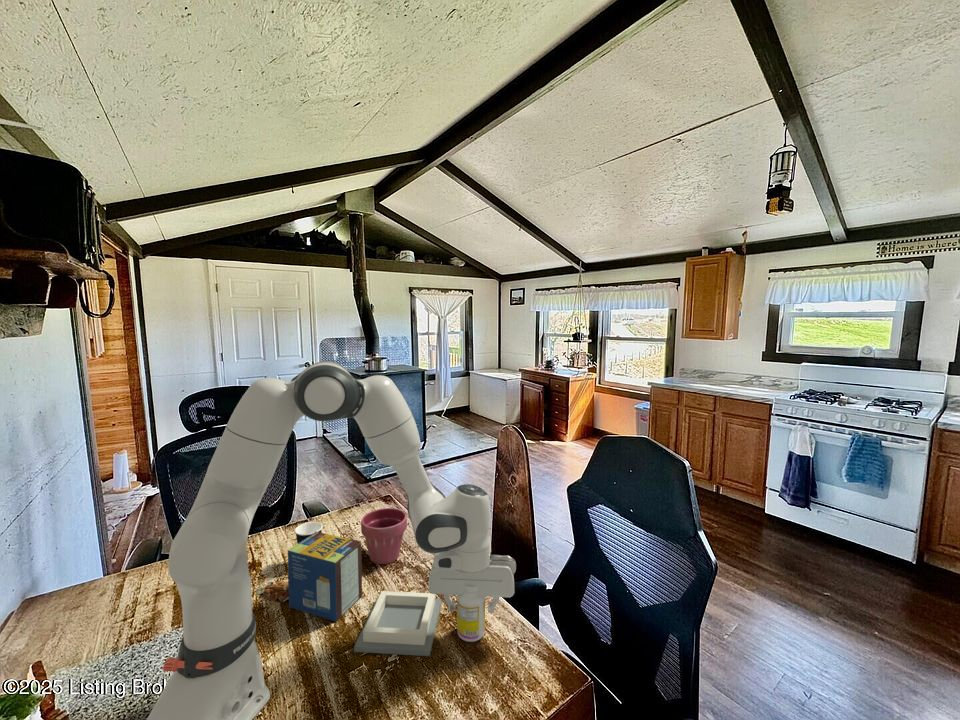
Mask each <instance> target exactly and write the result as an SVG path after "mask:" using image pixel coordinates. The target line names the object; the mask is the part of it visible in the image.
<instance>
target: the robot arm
mask: <svg viewBox="0 0 960 720" xmlns="http://www.w3.org/2000/svg"><path fill="white" fill-rule="evenodd" d="M402 394H403V393H401V392H400V389H399V388H398V387H397V385H396V384H395V383H394V381H393V380H392V379H391V378H390V377H388V376H386V375H382V374H381V375H380V374H379V375H378V374H377V375H372V376H368V377H366V378H364V379H357V378H355V377H353V375H351V373H350V372H349V370H348V369H346V367H345V366H343V365H342V364H340V363H337V362H335V361H332V360H331V361H329V360H323V361H318V362H315V363H312V364H310V365H309V366H307V367H306V368H305V369H303V370H302V371H301V372H300V373H299V374H297V375H296V376H294V377H293V378H292V379H291V380H289V381H288V380H284V379H281V378H276V377H275V378H274V377H265V378H259V379H257V380H255V381H254V382H252V383H251V384H250V386H249V387H248V389H246V391H245V393H244V394H243V395H242V396H241V398H240V400H239V402H237V404H236V406H235V408H234V410H233V412H232V413H231V415H230V417H229V420H227V421H228V422H227V424H226V426H225V428H224V431H223V433H222V436H221V437H220V440H219V442H218V444H217V446H216V449H215V451H214V453H213V455H212V458H211V459H210V462H209V464H208V466H207V471H206V473H205V476H204V477H203V480H202V483H201V486H200V489H199V490H198V493H197V495H196V498H195V500H194V503H193V505H192V506H191V509H190V511H189V512H188V515H187V516H186V518H185V519H184V522H183V523H182V525H181V526H180V528H179V530H178V532H177V534H175V537H174V538H173V541H172V543H171V545H170V550H169V554H168V555H169V556H168V573H169V576H170V578H171V580H173V582H175V584H176V587H177V590H178V593H179V597H180V601H181V611H182V612H181V613H182V616H181V617H182V629H183V630H182V632H183V635H182V638H181V642H180V645H179V649H178V654H177V657H174V656H173V657H172V656H170V657H168V658H167V659H166V660H164V664H163V665H162V671H163V672H172V674H171V676H170V677H169V679H168V681H167V683H166V684H165V686H164V688H163V689H162V692H161V694H160V696H159V697H158V699H157V701H156V703H155V704H154V706H153V708H152V710H151V711H150V713H149V715H148V716H147V718H146V720H254V718H255V716H256V715H257V714H258V713H259V712H260V711H261V710H262V708H263V707H264V706H266V704H267V703H268V702H269V700H270V698H271V693H270V689H269V688H268V686H267V685H266V684H265V678H264V677H265V676H264V672H263V670H264V669H263V664H262V663H263V662H262V657H261V654H260V652H259V649H258V647H257V644H256V640H255V638H256V634H257V631H256V629H257V622H256V616H255V614H254V612H253V597H252V596H253V594H252V591H253V589H252V578H251V576H250V571H249V564H248V555H247V552H248V551H247V547H248V546H247V545H248V537H249V532H250V529H251V525H252V522H253V519H254V517H255V513H256V511H257V509H258V507H259V505H260V502H261V500H262V498H263V497H264V494H265V493H266V491H267V489H268V487H269V484H270V483H271V482H272V480H273V477H274V475H275V472H276V469H277V467H278V464H279V462H280V460H281V457H282V455H283V453H284V451H285V448H286V446H287V444H288V441H289V438H290V437H291V435H292V432H293V430H294V428H295V426H296V424H297V422H298V421H299V420H300V419H302V417H304V416H305V417H307V418H309V419H310V420H313V421H315V422H316V421H317V422H331V421H337V420H343V419H350V418H353V419H354V420H355V422H356V423H357V425H358V427H359V429H360V431H361V434H362V437H364V439H365V442H366V445H368V447H369V449H370V451H371V452H372V454H373V455H374V457H375V458H376V459H377V460H378V462H379V463H381V464H382V465H385V466H391V467H392V468H393V470H394V471H395V472H396V474H397V477H398V478H399V481H400V483H401V484H402V487H403V489H404V491H405V493H406V495H407V503H406V504H407V508H406V509H407V514H408V518H409V520H410V523H411V527H412V530H413V534H414V537H415V538H414V539H415V542H416V544H417V545H418V547H419V548H420V549H421V550H422V551H424V552H426V553H429V554H434V556H433V562H432V565H431V568H430V572H429V576H428V586H427V587H428V591H429V593H432V594H435V595H443V600H444V601H445V602H446V604H447V610H448V612H455V611H456V599H452V597H451V596H457V595H465V592H464V586H477V592H476V595H477V596H485V597H492V598H493V599H492V600H491V601H488V603H487V604H488V605H487V607H488V609H487V613H490V614H495V607H496V605H497V604H498V603H499V602H500V598H511V597H513V596H514V595H515V578H514V575H515V573H516V570H517V563H516V560H515V558H513V557H511V556H510V555H507V554H506V555H505V554H504V555H500V554H491V547H492V546H491V543H492V542H491V541H492V540H491V536H490V529H491V528H492V527H491V526H492V525H491V523H492V516H491V515H492V514H491V511H492V510H491V503H490V502H491V501H490V497H489V495H488V493H487V492H486V491H485V490H484V488H482V487H480V486H477V485H474V484H468V483H467V484H466V483H465V484H460V485H458V486H457V487H456V489H454V491H453V492H451V493H450V494H448V495H447V496H445V494H444V493H443V492H442V491H441V490H440V489H439V488H438V487H436V486H435V485H434V484H433V483H432V481H430V480H431V479H429V476H428V474H427V472H426V470H425V466H424V465H423V463H422V461H421V459H420V455H419V450H420V447H421V443H422V442H421V437H420V434H419V430H418V426H417V423H416V421H415V417H414V415H413V413H412V410H411V409H410V407H409V405H408V403H407V401H406V400H405V398H404V396H403V395H402Z"/></svg>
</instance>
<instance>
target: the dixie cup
mask: <svg viewBox="0 0 960 720" xmlns="http://www.w3.org/2000/svg"><path fill="white" fill-rule="evenodd" d="M323 526H324V525H323V524H322V523H321V522H318V521H310V522H309V521H308V522H304V523H302V524H300V525H298V526H297V527H295V529H294V533H295V536H296V544H298V543H299V542H301V541H303V540H304V539H306V538H307V537H309V536H310V535H312V534H313V533H315V532H320V533H322V532H323V531H322V529H323Z"/></svg>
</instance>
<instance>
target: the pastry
mask: <svg viewBox="0 0 960 720" xmlns="http://www.w3.org/2000/svg"><path fill="white" fill-rule="evenodd" d="M255 594H256V595H261V594H262V595H263V596H266V597H265V599H264V601H267V602H271V603H275V601H276V600H278V599H279V602H281V603H284V602H285V601H287V600H289V580H288V581H287V582H286V581H281V580H280V581H277V582H276V583H274V581H268V582H267V583H264V584H261V585H260V586H259V587H258V588H256V589H255Z"/></svg>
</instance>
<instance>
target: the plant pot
mask: <svg viewBox="0 0 960 720" xmlns="http://www.w3.org/2000/svg"><path fill="white" fill-rule="evenodd" d="M407 520H408V517H407V514H406V512H405V511H404V510H402V509H399V508H394V507H384V508H379V509H375V510H372V511H370V512H368V513H365V515H363V517H362V518H361V520H360V521H361V522H360V528H361V529H360V531H361V535H362V536H363V537H364V541H365V543H366V548H367V553H368V555H369V560H370V561H371V562H372V563H374V564H377V565H386V564H390V563H392V562H395V561H396V560H398V558H399V556H400V553H401V548H402V543H403V538H404V533H405V531H406V530H407V528H408V521H407Z"/></svg>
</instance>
